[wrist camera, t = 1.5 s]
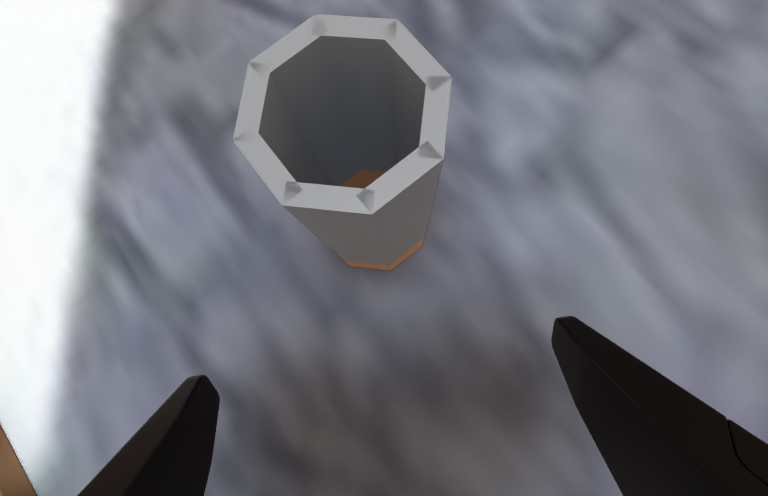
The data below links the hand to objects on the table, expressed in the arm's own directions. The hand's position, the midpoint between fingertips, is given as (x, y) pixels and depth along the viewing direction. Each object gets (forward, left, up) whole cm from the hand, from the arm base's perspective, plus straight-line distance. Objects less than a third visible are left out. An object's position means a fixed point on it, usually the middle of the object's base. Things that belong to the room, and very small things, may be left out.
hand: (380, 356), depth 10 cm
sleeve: (+6, -3, -13) cm, 15 cm away
